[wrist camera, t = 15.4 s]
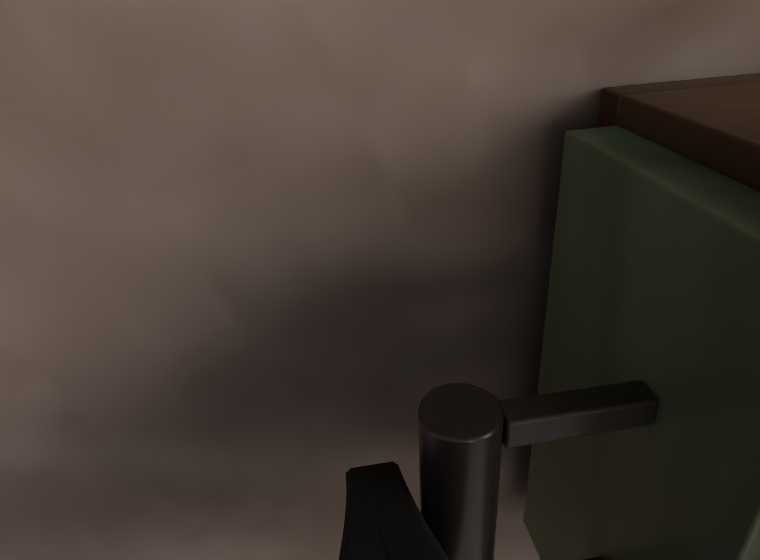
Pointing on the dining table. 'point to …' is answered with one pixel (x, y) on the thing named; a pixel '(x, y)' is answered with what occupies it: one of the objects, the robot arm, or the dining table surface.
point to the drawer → (623, 375)
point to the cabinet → (695, 120)
